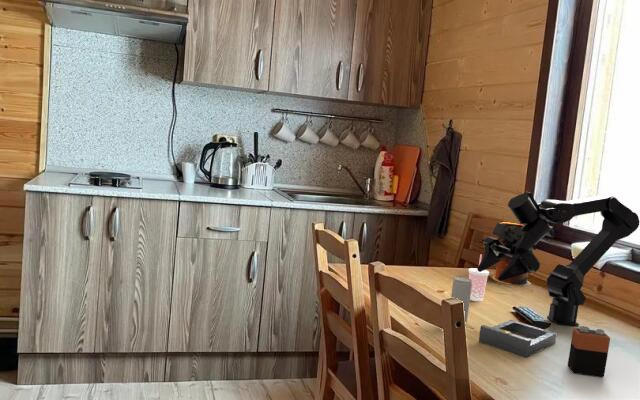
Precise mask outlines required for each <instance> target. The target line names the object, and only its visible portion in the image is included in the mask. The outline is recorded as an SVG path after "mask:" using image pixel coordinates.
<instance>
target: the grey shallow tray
mask: <svg viewBox="0 0 640 400" xmlns="http://www.w3.org/2000/svg"><path fill="white" fill-rule="evenodd" d="M479 329H480V330H479V334H478V336H479V337H478V342H479V343H481V342H482V343H481V344H484V345H486V346H489V347H494V348H497V349H498V350H502V351H505V352H508V353H510V354H514V355H517V356H520V357H523V358H528V357H530V356H532V355H534V354H536V353H538V352H541V351H542V350H543V349H546V348H548V347H549V346H552V345H553V344H555V343H556V340H557V332H554V331H550V330H547V329H543V328H540V327H537V326H534V325H530V324H526V323H524V322H521V321H516V320H514V319H510V320H507V321H504V322H502V323H500V324H499V323H498V324H497V325H494V326H492V327H491V326H489V325H485V324H481V325H480V328H479ZM514 333H516V334H514ZM518 334H519V335H518ZM521 335H523V336H521ZM524 336H527V338H526V337H524ZM528 337H529V338H528Z"/></svg>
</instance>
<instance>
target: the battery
mask: <svg viewBox="0 0 640 400" xmlns="http://www.w3.org/2000/svg"><path fill="white" fill-rule="evenodd" d="M571 335H572V336H571V341H570V346H569V347H570V348H569V354H568V359H567V367H568V369H569V370H570V371H571V372H572V373H573V374H577V375H584V376H590V377H591V376H592V377H599V378H604V377H605V374H606V366H607V361H608V355H609V349H610V343H611V338H610V336H609V335H608V334H607V333H606V332H605V330H604V329H601V328H597V329H596V330H595V329H591V328H590V327H588V326H585V325H580V326H579V327H578V328H577V327H574V328H573V329H572V333H571Z"/></svg>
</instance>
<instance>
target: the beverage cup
mask: <svg viewBox="0 0 640 400" xmlns="http://www.w3.org/2000/svg"><path fill="white" fill-rule="evenodd" d="M482 259H483V254H480V255H479V261H478V262H479V263H478V266H479V265H480V263H481V261H482ZM477 269H478V267H477V268H476V267H475V268H473V267H470V268H468V279H471V280H472V288H471V296H470V301H473V302H483V301H484V295H485V292H486V286H487V281H488V278H489V277H488V276H489V275H490V271H488V270H487V269H486V270H484V271H482V272H479V271H478V270H477Z"/></svg>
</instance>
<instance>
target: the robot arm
mask: <svg viewBox="0 0 640 400" xmlns="http://www.w3.org/2000/svg"><path fill="white" fill-rule="evenodd" d="M533 195H534V194H532V192H529V191H524V192H523V193H522V194H521V193H520V194H517V195H516V196H514V197H512V198H510V200H508V204H507V206H508V208H509V210H510V211H511V212H512V214H513V216H514V218H515V219H516V220H517V223H518V224H522V225H523V226H522V227H521V228H519V227H518V226H515V225H513V226H512V227H510V226H507V225H504V224H501V223H502V222H497V223H496V224H495V227H494V228H493V230H492V231H491V234H493V235H496V236H497V237H500V238H502V240H501V241H502V243H503V244H504V247H503V246H502V244H501V243H500V241H499V240H498V238H495V237H492V236H487V237H486V238H484V239H483V241H482V244H483V248H484V254H483V255H482V258H481V263H480V265H479V264H478V267H477V270H478V271H479V272H482V271H484V270H487V269H489V268H490V267H493V266H494V265H497V263H498V262H500V259H501V258H503V257H504V256H505V255H507V256H509V257H512V260H511V263H510V264H509V265H508V266H507V267H506V268H505V269H504V271H503V272H502V273H501V274H500V275H499V277H498V280H499V281H503V280H506V279H509V278H512V277H515V276H518V275H522V274H526V273H528V274H531V273H534V274H535V273H536V272H537V271H538V270H539V269H540V268H541V263H540V261H539V259H538V258H537V256H536V255H535V253H534V252H533V251H536V250H537V248H538V246H537V244H538V243H539V242H540V241H541V240H542V239H543V238H544V237H545V236H547V237H550V238H554V237H555V232H554V230H555V227H554V226H551V225H550V224H549V223H553V224H557V225H561V224H565V223H566V222H570V221H571V220H572V219H573V218H575V217H578V216H583V215H588V214H593V213H600V216H601V217H602V218H603V220H602V224H601V229H600V231H598V233H597V234H596V235H595V236H594V237H593V238H592V239H591V240H590V241H589V242H588V243H587V245H586V246H584V248H583V249H582V250H581V251H580V252H579V253H578V254H577V255H576V257H574V258H573V260H572V261H571V262H570V263H569V264H565V265H564V264H562V263H558V264H557V265H556V266H555V267H554V269H553V270H552V271H550V272H549V273H548V274H549V275H548V277H547V278H546V287H547V291H548V296H549V297H550V298H552V301H551V302H552V303H550V305H549V310H548V315H546V318H547V319H548V320H550V321H551V322H553V323H555V324H556V325H561V326H562V325H563V326H564V325H565V326H579V325H580V323H578V322H577V318H578V312H579V306H583V305H584V304H585V302H586V299H587V298H586V296H585V294H584V293H583V291H582V290H581V289H582V287H583V285H584V279H585V276H586V275H587V273H588V272H589V271H590V270H591V269H592V268H593V267H594V266H595V265H596V264H597V263H598V262H599V260H600V259H601V258H602V257H603V256H604V255H605V254H606V253H607V252H608V251H609V250H610V249H611V248H612V247H613V245H614V244H615V243H616V242H617V241H619V240H622V239H624V238H627V237H629V236H630V235H632V234H633V233H634V232H636V231H637V230H638V228H639V226H640V218H639V216H638V214H637V213H636V212H635V211H632V210H631V208H629V207H627V206H626V205H624V204H623V203H622V202H621V201H620V200H619V199H618V198H616V197H615V196H613V195H607V194H599V195H597V196H592V197H585V198H579V199H572V200H558V199H545V200H542V201H541V202H540V203H537V201H536V200H535V198H534V196H533ZM548 222H549V223H548ZM531 249H532V251H530V250H531Z"/></svg>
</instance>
